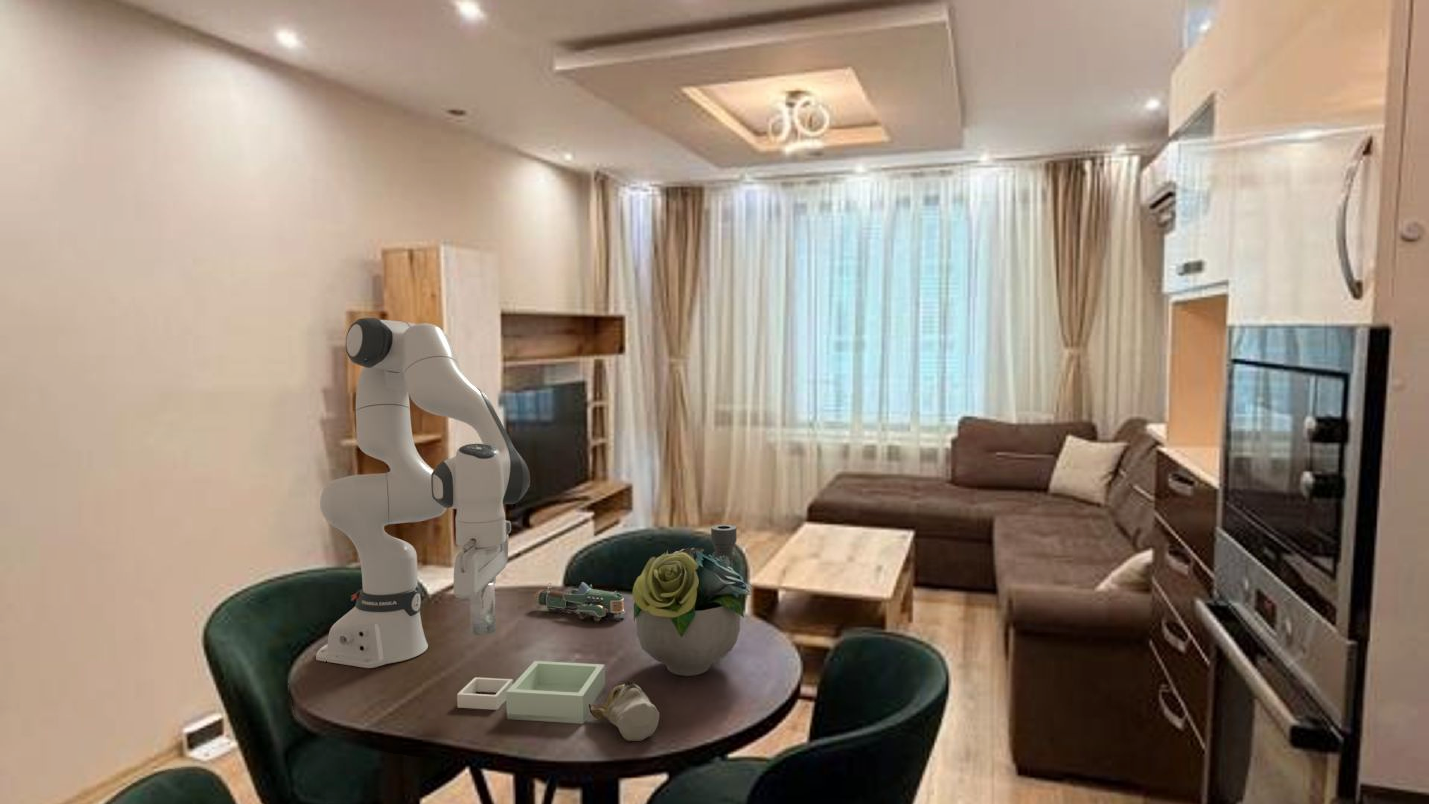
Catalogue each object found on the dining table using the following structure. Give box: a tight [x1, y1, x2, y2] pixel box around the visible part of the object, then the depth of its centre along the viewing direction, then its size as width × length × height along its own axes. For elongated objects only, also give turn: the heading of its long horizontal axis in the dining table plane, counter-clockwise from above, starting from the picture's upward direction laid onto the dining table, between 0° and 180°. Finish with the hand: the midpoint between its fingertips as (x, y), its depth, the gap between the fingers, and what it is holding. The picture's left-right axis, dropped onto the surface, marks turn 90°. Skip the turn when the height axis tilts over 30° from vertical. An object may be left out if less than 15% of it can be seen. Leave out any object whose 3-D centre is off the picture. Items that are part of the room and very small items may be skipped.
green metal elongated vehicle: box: [533, 581, 627, 622], centre depth 200 cm, size 10×25×8 cm, turn 70°
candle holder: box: [710, 524, 739, 598], centre depth 184 cm, size 6×6×25 cm
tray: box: [505, 660, 606, 725], centre depth 150 cm, size 14×14×5 cm
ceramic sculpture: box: [588, 680, 660, 742], centre depth 141 cm, size 11×9×15 cm
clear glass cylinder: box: [469, 581, 497, 636], centre depth 151 cm, size 4×4×9 cm
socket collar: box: [456, 677, 514, 711], centre depth 153 cm, size 8×8×2 cm
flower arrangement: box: [632, 547, 753, 677], centre depth 165 cm, size 25×25×24 cm
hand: (482, 606), depth 151 cm, fingers closed on clear glass cylinder, 4 cm apart
